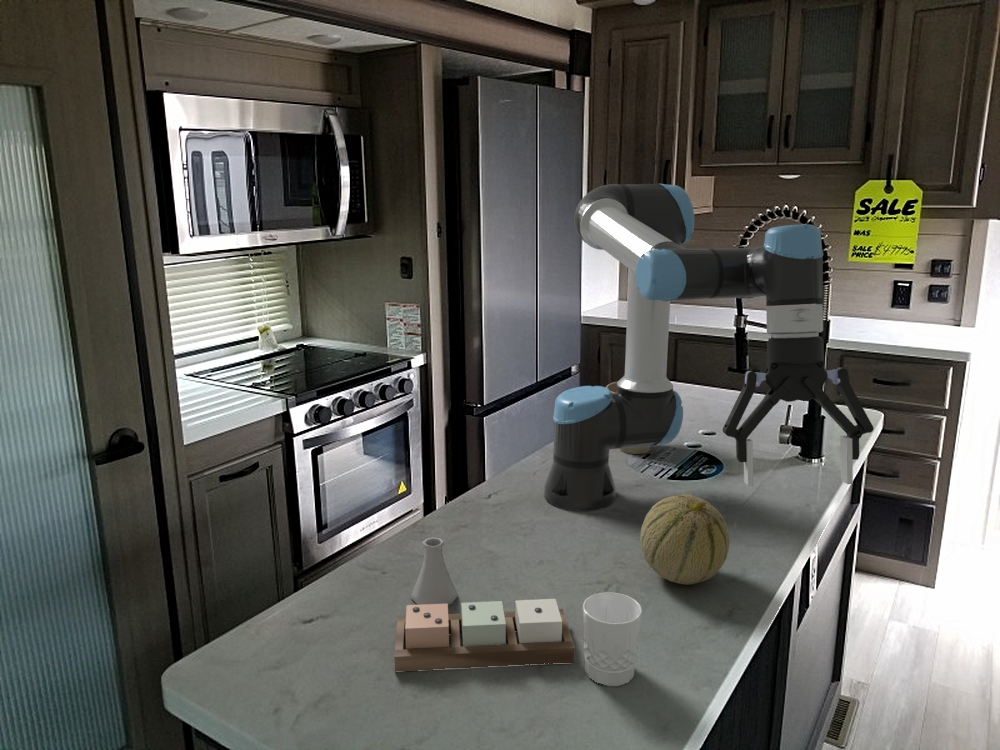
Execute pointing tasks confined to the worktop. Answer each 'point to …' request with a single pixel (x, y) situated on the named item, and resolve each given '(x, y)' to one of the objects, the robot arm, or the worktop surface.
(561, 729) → the worktop surface
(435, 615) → the three-pip tile
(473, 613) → the tile
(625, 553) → the worktop surface
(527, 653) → the board
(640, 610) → the white cup
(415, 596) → the flask
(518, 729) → the worktop surface
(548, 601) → the tile
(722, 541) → the cantaloupe
